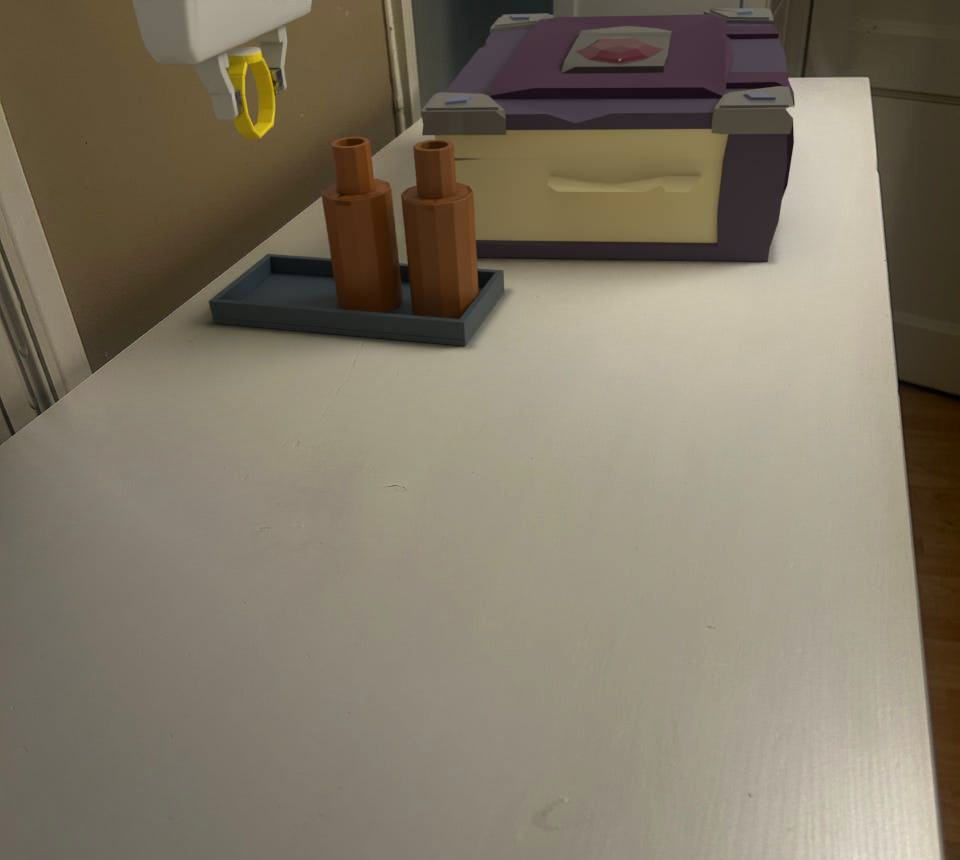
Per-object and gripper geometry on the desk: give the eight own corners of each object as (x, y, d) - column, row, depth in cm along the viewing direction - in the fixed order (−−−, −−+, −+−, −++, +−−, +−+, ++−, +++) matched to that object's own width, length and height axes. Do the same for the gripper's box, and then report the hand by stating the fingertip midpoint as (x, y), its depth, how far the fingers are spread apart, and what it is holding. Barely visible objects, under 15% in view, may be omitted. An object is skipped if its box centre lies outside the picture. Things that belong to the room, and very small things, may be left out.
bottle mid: (329, 319, 85) (302, 151, 76) (354, 293, 89) (332, 131, 80) (389, 324, 83) (369, 153, 74) (412, 298, 87) (395, 133, 78)
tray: (213, 323, 85) (208, 300, 84) (271, 274, 93) (267, 253, 92) (465, 346, 79) (464, 322, 78) (504, 292, 87) (503, 269, 86)
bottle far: (404, 325, 83) (386, 154, 74) (426, 299, 87) (412, 133, 78) (466, 331, 81) (456, 157, 73) (486, 304, 85) (478, 135, 76)
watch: (257, 124, 81) (241, 41, 77) (288, 124, 81) (274, 41, 77) (228, 145, 77) (210, 58, 73) (261, 145, 76) (245, 58, 72)
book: (766, 129, 121) (784, -5, 112) (788, 266, 88) (816, 92, 79) (502, 130, 127) (498, 3, 117) (429, 260, 94) (416, 97, 84)
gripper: (242, -127, 76) (275, 73, 86) (89, -98, 62) (149, 139, 71) (315, -130, 75) (341, 74, 84) (176, -101, 60) (226, 142, 69)
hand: (252, 105), depth 77 cm, fingers closed on watch, 6 cm apart
